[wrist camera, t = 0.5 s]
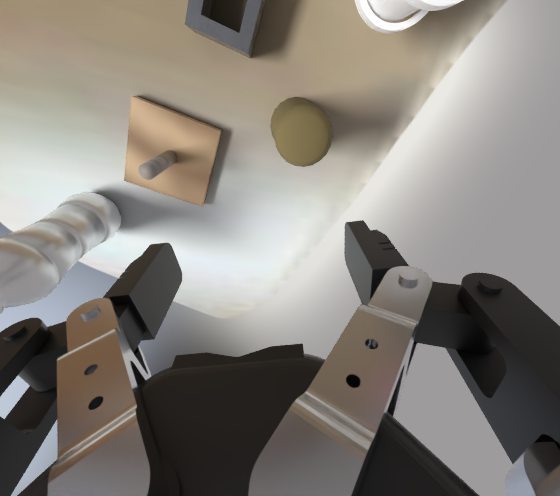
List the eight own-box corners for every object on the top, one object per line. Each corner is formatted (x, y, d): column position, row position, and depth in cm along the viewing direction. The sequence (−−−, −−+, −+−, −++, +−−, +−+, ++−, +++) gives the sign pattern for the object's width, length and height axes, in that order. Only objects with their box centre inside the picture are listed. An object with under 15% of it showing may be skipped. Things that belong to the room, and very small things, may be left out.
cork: (327, 106, 31) (352, 112, 21) (310, 157, 33) (325, 183, 24) (278, 89, 30) (281, 87, 20) (265, 143, 32) (262, 164, 23)
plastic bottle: (84, 177, 34) (-108, 263, 17) (135, 206, 36) (11, 308, 19) (70, 214, 37) (-109, 321, 19) (118, 239, 39) (-4, 355, 22)
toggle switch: (136, 95, 29) (93, 96, 22) (222, 130, 32) (208, 140, 24) (128, 178, 34) (91, 200, 27) (204, 203, 36) (187, 229, 29)
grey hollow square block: (208, -46, 24) (198, -66, 21) (269, -13, 25) (268, -28, 22) (194, 32, 27) (184, 24, 24) (250, 58, 28) (247, 53, 25)
